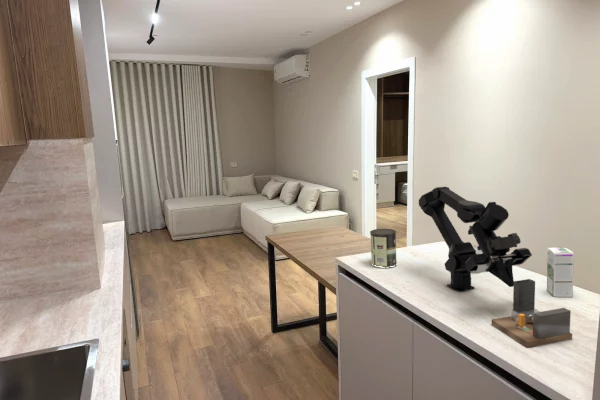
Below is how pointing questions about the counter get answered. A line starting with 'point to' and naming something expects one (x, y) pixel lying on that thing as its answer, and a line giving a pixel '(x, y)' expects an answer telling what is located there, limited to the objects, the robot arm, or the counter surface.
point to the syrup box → (560, 272)
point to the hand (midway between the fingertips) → (512, 286)
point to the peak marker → (521, 320)
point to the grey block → (480, 267)
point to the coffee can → (383, 247)
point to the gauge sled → (524, 300)
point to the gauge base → (523, 335)
